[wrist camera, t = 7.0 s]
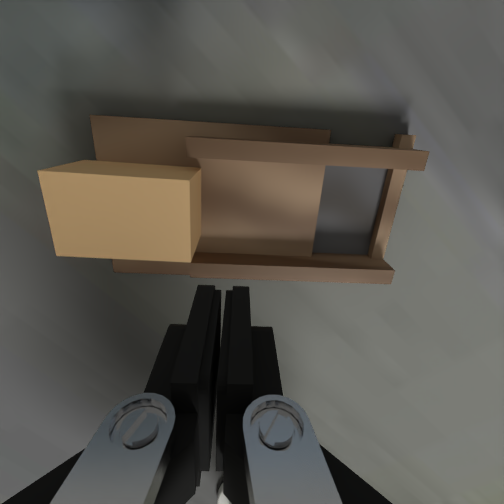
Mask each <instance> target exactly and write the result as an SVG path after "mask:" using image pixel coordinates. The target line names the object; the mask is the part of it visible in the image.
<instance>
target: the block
mask: <svg viewBox="0 0 504 504" xmlns="http://www.w3.org/2000/svg"><path fill="white" fill-rule="evenodd" d="M38 176H39V180H40V185H41V189H42V193H43V198H44V202H45V207H46V211H47V216H48V220H49V225H50V229H51V234H52V238H53V243H54V247H55V252H56V256H67V257H88V258H108V259H128V260H149V261H169V262H190V263H191V261H192V258H193V255H194V253H195V250H196V247H197V244H198V242H199V239H200V236H201V168H196V167H181V166H166V165H152V164H137V163H123V162H108V161H93V160H82V161H77V162H73V163H68V164H64V165H60V166H55V167H51V168H47V169H42V170H38Z"/></svg>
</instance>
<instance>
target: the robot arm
mask: <svg viewBox="0 0 504 504" xmlns="http://www.w3.org/2000/svg"><path fill="white" fill-rule="evenodd" d="M220 333H221V290H215V286H214V285H198V287H197V290H196V294H195V297H194V301H193V304H192V308H191V311H190V315H189V319H188V322H187V325H182V324H170V325H169V327H168V329H167V332H166V335H165V337H164V340H163V343H162V345H161V348H160V351H159V353H158V356H157V359H156V361H155V364H154V367H153V369H152V372H151V375H150V377H149V380H148V383H147V385H146V388H145V391H144V393H141V394H137V395H133V396H131V397H129V398H127V399H125V400H123V401H121V402H120V403H119V404H118V405H116V406H115V407H114V408H113V409H112V410H111V411H110V412H109V414H108V415H107V416H106V417H105V419H104V420H103V422H102V423H101V425H100V427H99V428H98V430H97V431H96V433H95V434H94V436H93V437H92V439H91V441H90V442H89V444H88V445H87V447H86V448H85V449H84V450H82V451H80V452H79V453H77V454H76V455H74V456H73V457H71V458H70V459H68V460H67V461H65V462H64V463H62V464H61V465H59V466H58V467H56V468H55V469H53V470H52V471H50V472H49V473H47V474H46V475H44V476H43V477H41V478H40V479H38V480H37V481H35V482H34V483H32V484H31V485H29V486H28V487H26V488H25V489H23V490H22V491H20V492H19V493H17V494H16V495H14V496H13V497H11V498H10V499H8V500H7V501H5V502H4V503H2V504H185V503H186V502H187V501H188V500H189V499H190V498H191V497H192V496H193V495H194V494H195V491H196V486H200V478H201V471H209V468H210V458H211V448H212V438H213V427H214V417H215V406H216V396H217V422H216V471H224V481H223V483H222V484H221V486H220V488H219V491H218V504H392V503H391V502H390V501H388V500H387V499H386V498H385V497H384V496H382V495H381V494H380V493H379V492H377V491H376V490H375V489H374V488H373V487H371V486H370V485H369V484H368V483H366V482H365V481H364V480H363V479H362V478H360V477H359V476H358V475H357V474H355V473H354V472H353V471H352V470H351V469H349V468H348V467H347V466H346V465H344V464H343V463H342V462H341V461H340V460H338V459H337V458H336V457H335V456H333V455H332V454H331V453H330V452H329V451H327V450H326V449H325V448H324V447H322V446H321V445H320V444H319V442H318V440H317V437H316V435H315V432H314V430H313V427H312V425H311V422H310V420H309V418H308V416H307V414H306V412H305V411H304V409H303V408H302V407H301V406H300V405H299V404H298V403H296V402H295V401H293V400H291V399H290V398H288V397H284V396H283V393H282V386H281V380H280V373H279V367H278V360H277V354H276V347H275V341H274V334H273V329H272V327H257V326H251V316H250V294H249V287H243V286H233V290H226V298H225V308H224V318H223V328H222V338H221V348H220Z"/></svg>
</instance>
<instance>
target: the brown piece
mask: <svg viewBox="0 0 504 504" xmlns="http://www.w3.org/2000/svg"><path fill="white" fill-rule="evenodd" d="M90 121H91V128H92V134H93V141H94V147H95V153H96V160H97V161H108V162H123V163H137V164H152V165H166V166H181V167H196V168H201V236H200V239H199V242H198V244H197V247H196V250H195V253H194V255H193V258H192V261H191V263H190V262H169V261H149V260H128V259H112V264H113V270H114V272H119V273H148V274H177V275H190V277H195V278H224V279H253V280H282V281H312V282H341V283H370V284H391V282H392V279H393V275H394V272H395V270H394V269H393V268H392V267H391V266H390V265H389V264H388V263H386V262H385V261H384V260H383V258H384V254H385V250H386V247H387V243H388V239H389V235H390V232H391V228H392V224H393V220H394V217H395V213H396V209H397V206H398V202H399V198H400V194H401V191H402V187H403V183H404V179H405V176H406V172H407V170H418V171H424V169H425V166H426V162H427V159H428V155H429V151H422V150H415V149H413V146H414V142H415V138H416V135H402V134H395V137H394V141H393V145H392V147H380V146H363V145H346V144H330V143H329V140H330V134H331V130H323V129H307V128H292V127H276V126H260V125H244V124H228V123H212V122H196V121H181V120H165V119H149V118H133V117H117V116H101V115H90Z"/></svg>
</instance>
